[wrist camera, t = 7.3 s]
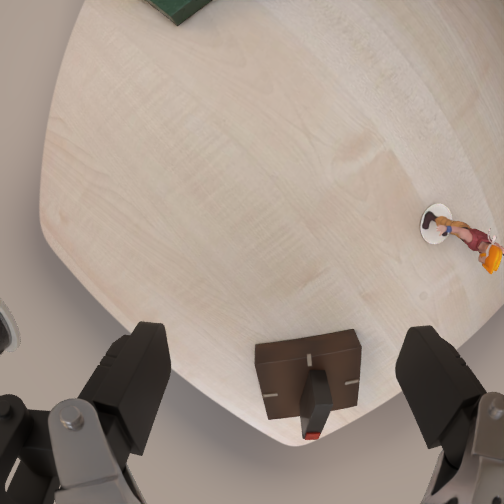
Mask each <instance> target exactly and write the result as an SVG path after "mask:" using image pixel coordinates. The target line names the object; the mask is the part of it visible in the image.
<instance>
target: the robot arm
mask: <svg viewBox="0 0 504 504" xmlns="http://www.w3.org/2000/svg"><path fill="white" fill-rule="evenodd" d="M11 343H12V336H11V332H10V329H9V326H8V324H7V322H6V320H5V319H4V317H3V315H2V314H1V312H0V354H1V353H2V352H3V351H4V350H5V349H6V348H8V347H9V346H10V345H11ZM395 372H396V378H397V380H398V382H399V384H400V387H401V389H402V391H403V393H404V395H405V397H406V399H407V401H408V403H409V406H410V408H411V410H412V412H413V415H414V417H415V419H416V421H417V424H418V426H419V428H420V431H421V433H422V435H423V438H424V440H425V442H426V445H427V447H428V449H431V448H434V447H438V446H442V448H443V450H442V451H441V453H440V454H439V457H438V460H437V463H436V466H435V469H434V472H433V474H432V477H431V480H430V483H429V485H428V488H427V490H426V493H425V495H424V498H423V500H422V502H421V503H420V504H504V395H503V394H500V393H497V392H488V393H487V392H486V390H485V389H484V388H483V386H482V385H481V384H480V382H479V380H478V379H477V378H476V376H475V375H474V373H473V372H472V371H471V369H470V368H469V367H468V366H466V362H465V361H464V360H463V359H462V358H460V355H459V353H458V352H457V351H456V349H455V348H454V347H453V346H452V345H451V344H450V343H448V342H447V341H445V340H444V339H443V338H441V337H440V336H439V334H438V333H437V332H436V331H435V329H434V328H433V327H432V326H430V325H429V326H417V327H411V328H409V330H408V331H407V334H406V337H405V340H404V343H403V345H402V348H401V351H400V354H399V356H398V359H397V362H396V367H395ZM170 373H171V359H170V354H169V348H168V343H167V337H166V331H165V327H164V325H163V324H161V323H151V322H142V321H141V322H139V323H138V324H137V326H136V327H135V329H134V331H133V332H132V334H131V335H123V336H122V337H121V338H119V339H118V340H116V341H115V342H114V343H112V345H111V346H110V348H109V350H108V351H107V353H106V356H104V357H103V359H102V360H101V362H100V365H98V366H97V368H96V369H95V371H94V373H93V374H92V376H91V377H90V379H89V381H88V382H87V384H86V385H85V387H84V388H83V390H82V392H81V393H80V395H79V396H78V398H77V399H76V398H75V399H67V400H64V401H62V402H60V403H58V404H57V405H56V406H55V407H54V408H53V409H52V410H51V411H42V410H41V411H40V410H29V409H27V408H26V406H25V405H24V403H23V401H22V400H21V399H20V398H19V397H17V396H15V395H10V394H8V395H7V394H6V395H2V396H0V504H53V503H54V500H55V502H56V504H147V503H146V501H145V499H144V497H143V495H142V494H141V492H140V490H139V488H138V486H137V484H136V482H135V480H134V478H133V476H132V473H131V471H130V469H129V467H128V465H127V463H126V462H127V459H128V457H129V454H130V453H132V454H137V455H141V456H142V455H143V452H144V449H145V446H146V443H147V440H148V437H149V434H150V431H151V428H152V426H153V423H154V420H155V417H156V414H157V411H158V408H159V405H160V403H161V400H162V397H163V394H164V391H165V389H166V386H167V383H168V380H169V377H170ZM17 457H18V458H19V459H20V460H21V461H20V463H19V465H18V468H17V470H16V472H15V474H14V476H13V478H12V481H11V483H10V485H9V487H8V490H7V492H6V491H5V483H6V480H7V478H8V476H9V473H10V472H11V469H12V467H13V465H14V463H15V461H16V459H17ZM60 485H61V487H60V489H59V486H60Z"/></svg>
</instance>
